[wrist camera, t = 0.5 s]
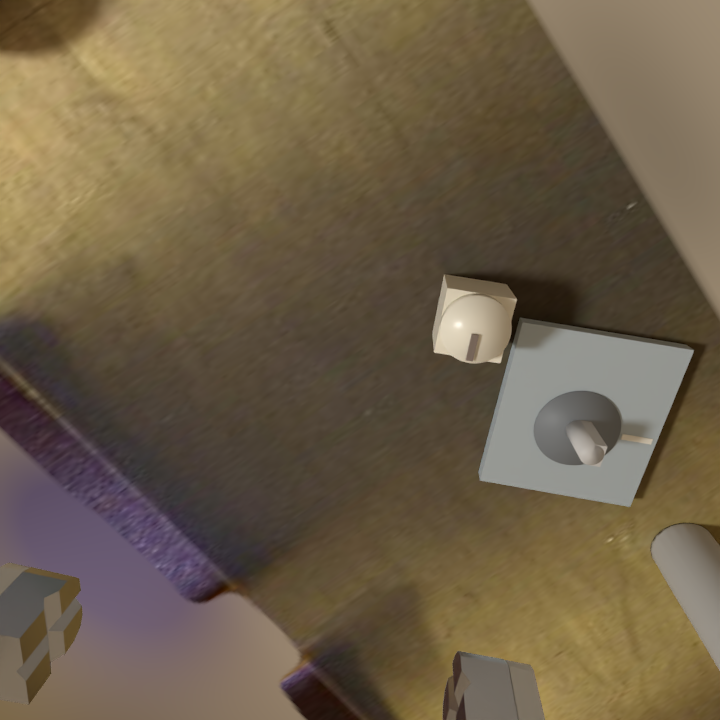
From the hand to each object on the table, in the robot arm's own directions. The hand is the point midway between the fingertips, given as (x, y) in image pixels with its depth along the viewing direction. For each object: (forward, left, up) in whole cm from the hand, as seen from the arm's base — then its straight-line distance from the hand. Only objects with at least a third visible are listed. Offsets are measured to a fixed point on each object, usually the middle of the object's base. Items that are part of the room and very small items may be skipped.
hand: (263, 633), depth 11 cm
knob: (+3, +9, -42) cm, 43 cm away
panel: (+12, +22, -42) cm, 49 cm away
